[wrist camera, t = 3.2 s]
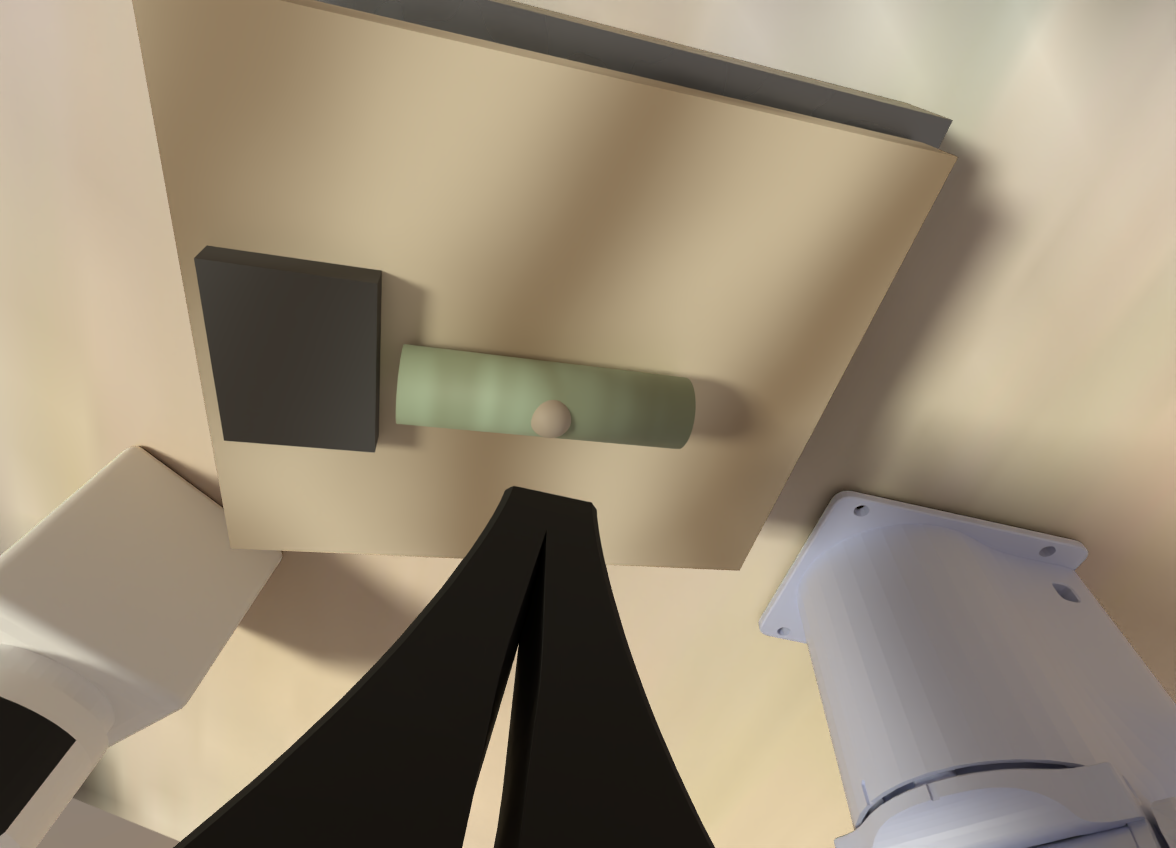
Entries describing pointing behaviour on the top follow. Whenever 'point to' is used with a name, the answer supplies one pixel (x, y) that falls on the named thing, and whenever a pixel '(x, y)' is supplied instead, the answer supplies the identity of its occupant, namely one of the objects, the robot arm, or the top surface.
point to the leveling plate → (505, 280)
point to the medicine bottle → (109, 627)
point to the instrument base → (661, 62)
